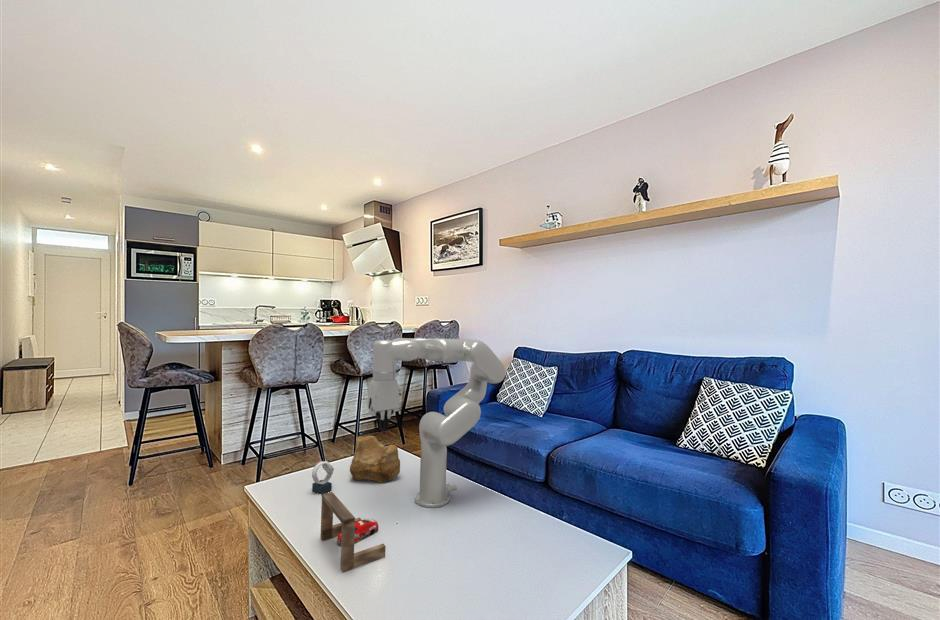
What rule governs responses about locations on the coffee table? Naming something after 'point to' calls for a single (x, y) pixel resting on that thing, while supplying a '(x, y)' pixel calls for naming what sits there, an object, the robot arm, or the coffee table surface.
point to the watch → (322, 485)
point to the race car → (362, 530)
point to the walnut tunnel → (345, 533)
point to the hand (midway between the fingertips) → (383, 430)
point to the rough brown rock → (374, 460)
